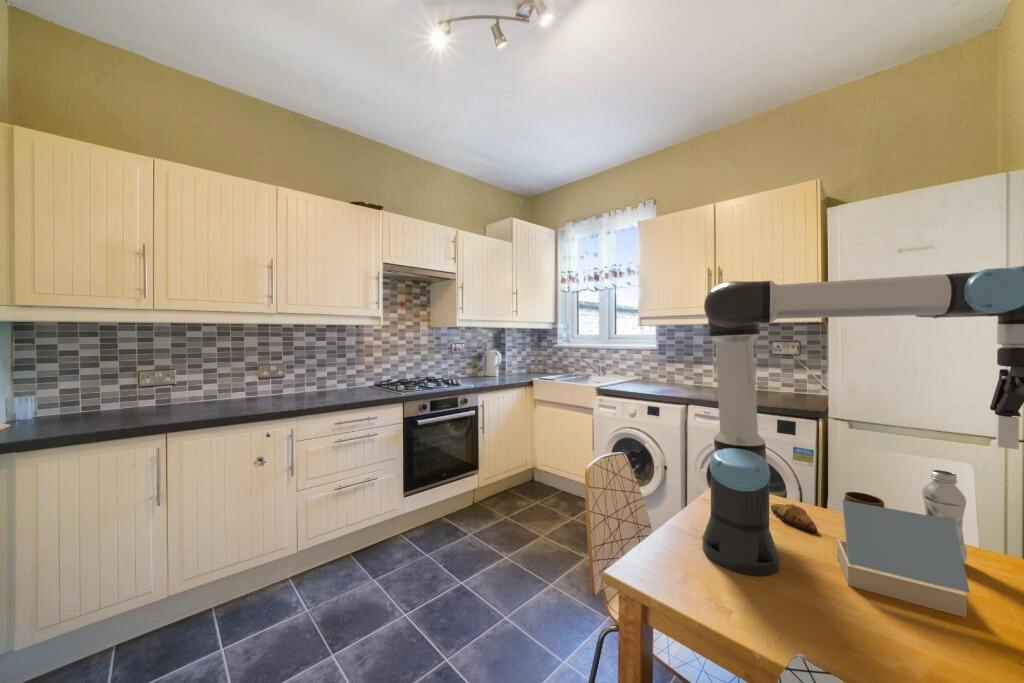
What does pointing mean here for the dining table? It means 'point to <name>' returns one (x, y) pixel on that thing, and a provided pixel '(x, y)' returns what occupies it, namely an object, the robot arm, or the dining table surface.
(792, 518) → the croissant
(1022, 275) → the robot arm
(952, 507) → the plastic bottle
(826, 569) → the dining table surface
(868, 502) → the mug
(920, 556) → the lid
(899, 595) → the base
